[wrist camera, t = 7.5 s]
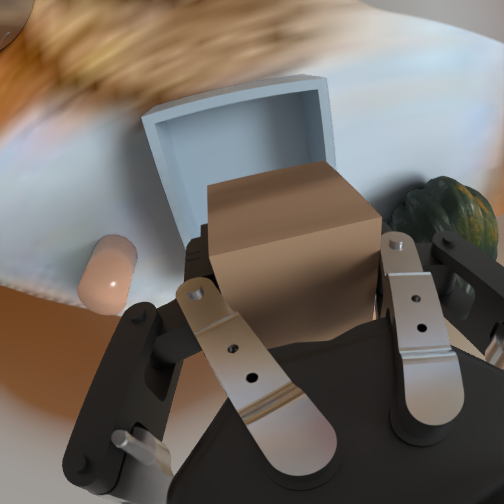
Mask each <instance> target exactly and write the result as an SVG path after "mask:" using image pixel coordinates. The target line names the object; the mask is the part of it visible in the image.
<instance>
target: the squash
mask: <svg viewBox="0 0 504 504" xmlns="http://www.w3.org/2000/svg"><path fill="white" fill-rule="evenodd" d="M405 203H406V205H403V206H400V207H398V208H397V209H396V210H395V211H394V212H393V214H392V221H391V222H390V223H389V224H387V225H388V226H389V227H390V228H391V229H392V230H393V232H402V233H405V234H407V235H409V236H410V237H411V238H412V239H413V241H414V243H432V240H433V236H434V234H435V233H437V232H440V231H450V232H454V233H456V234H458V235H459V236H461V237H462V238H464V239H465V240H467V241H468V242H470V243H471V244H473V245H474V246H476V247H477V248H478V249H480V250H481V251H483V252H484V253H485V254H487V255H488V256H490V257H491V258H492V259H494V260H495V261H496V258H497V244H498V226H497V220H496V217H495V215H494V212H493V210H492V208H491V205H490V204H489V202H488V201H487V199H486V198H485V197H484V196H483V195H481V194H480V193H479V192H478V191H476V190H474V189H472V188H470V187H468V186H464V185H462V184H461V183H459V182H457V181H456V180H454V179H452V178H449V177H446V176H440V177H437V178H434V179H431V180H430V181H428V182H427V183H426V184H425V186H424V187H423V189H422V190H421V189H413V190H411V191H409V192H408V193H407V194H406V198H405ZM455 284H456V285H457V286H458V287H460V288H461V289H462V290H463V291H464V292H466V293H467V294H468V295H469V296H470V297H472V298H473V299H475V291H474V289H473V287H472V286H471V285H470V284H468V283H467V282H466V281H465V280H463V279H462V278H461V277H460V276H458V275H457V278H456V282H455Z"/></svg>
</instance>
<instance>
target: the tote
mask: <svg viewBox="0 0 504 504" xmlns="http://www.w3.org/2000/svg"><path fill="white" fill-rule="evenodd" d="M141 118H142V122H143V125H144V129H145V132H146V135H147V138H148V142H149V145H150V148H151V151H152V154H153V157H154V161H155V164H156V167H157V170H158V173H159V176H160V179H161V182H162V185H163V188H164V191H165V194H166V197H167V200H168V202H169V205H170V208H171V211H172V214H173V217H174V220H175V222H176V225H177V228H178V231H179V233H180V236H181V239H182V242H183V244H184V247H185V250H186V246H187V245H188V243H189V242H190V240H191V239H193V238H197V237H200V233H201V225H202V224H206V223H208V211H207V185H211V184H215V183H219V182H223V181H228V180H232V179H236V178H240V177H245V176H249V175H254V174H258V173H263V172H268V171H272V170H277V169H282V168H287V167H292V166H297V165H302V164H308V163H313V162H319V161H324V160H325V161H326V162H327V163H328V164H329V165H330V166H332V167H333V168H334V169H335V170H336V158H335V146H334V135H333V125H332V116H331V108H330V99H329V91H328V84H327V78H324V77H318V76H312V75H305V74H302V75H294V76H287V77H280V78H273V79H267V80H261V81H255V82H250V83H244V84H239V85H234V86H230V87H225V88H220V89H216V90H212V91H207V92H203V93H199V94H195V95H192V96H188V97H184V98H180V99H177V100H173V101H170V102H166V103H163V104H160V105H157V106H154V107H153V108H151V109H150V110H149V111H148V112H146V113H145V114H144V115H143V116H142V117H141Z"/></svg>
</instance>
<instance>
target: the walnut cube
mask: <svg viewBox="0 0 504 504" xmlns="http://www.w3.org/2000/svg"><path fill="white" fill-rule="evenodd" d="M207 211H208V248H209V259H210V262H211V265H212V268H213V271H214V274H215V277H216V280H217V282H218V285H219V288H220V291H221V294H222V296H223V298H224V299H225V301H226V302H227V303H228V305H229V306H230V308H231V309H232V310H233V312H236V311H238V312H239V313H240V314H241V316H242V317H243V318H244V320H245V321H246V322H247V324H248V325H249V326H250V328H251V329H252V330H253V332H254V333H255V334H256V336H257V337H258V338H259V340H260V341H261V342H262V344H263V345H264V346H265V348H266V349H270V348H274V347H279V346H283V345H287V344H291V343H295V342H313V341H328V340H332V339H334V338H336V337H337V336H339V335H341V334H343V333H345V332H346V331H348V330H350V329H352V328H354V327H355V326H357V325H360V324H364V323H367V322H370V321H372V319H373V312H374V304H375V296H376V288H377V278H378V268H379V257H380V244H381V227H382V216H381V215H380V214H379V213H378V212H377V211H376V210H375V209H374V208H373V207H372V206H371V205H370V204H369V203H368V202H367V201H366V200H365V199H364V198H363V197H362V196H361V195H360V194H359V193H358V192H357V191H356V190H355V189H354V188H353V187H352V186H351V185H350V184H349V183H348V182H347V181H346V180H345V179H344V178H343V177H342V176H341V175H340V174H339V173H338V172H337V171H336V170H335V169H334V168H333V167H332V166H330V165H329V164H328V163H327V162H326V161H325V160H324V161H319V162H313V163H308V164H302V165H297V166H292V167H287V168H282V169H277V170H272V171H268V172H263V173H258V174H254V175H249V176H245V177H240V178H236V179H232V180H228V181H223V182H219V183H215V184H211V185H207Z"/></svg>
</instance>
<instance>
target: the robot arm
mask: <svg viewBox="0 0 504 504" xmlns="http://www.w3.org/2000/svg"><path fill="white" fill-rule="evenodd" d="M33 3H34V0H0V50H1V49H3V48H4V47H6V46H7V45H8V44H9V43H11V42H12V41H13V40H14V38H15V37H16V36H17V35H18V34H19V33H20V31H21V30H22V28H23V27H24V25H25V23H26V21H27V20H28V18H29V15H30V13H31V10H32V7H33ZM185 261H186V262H185V273H184V283H183V284H182V285H180V287H179V288H178V289H177V291H176V298H175V299H174V300H173V301H171V302H169V303H168V304H165V305H163V306H161V307H159V308H157V309H156V307H155V306H154V305H153V304H152V303H149V302H140V303H137V304H134V305H133V306H131V307H130V308H128V309H127V310H126V311H125V312H124V314H123V315H122V317H121V319H120V321H119V324H118V326H117V328H116V330H115V332H114V334H113V336H112V338H111V341H110V343H109V345H108V347H107V349H106V351H105V354H104V356H103V358H102V360H101V363H100V365H99V367H98V370H97V372H96V374H95V376H94V379H93V381H92V384H91V386H90V388H89V391H88V393H87V396H86V398H85V401H84V403H83V406H82V408H81V411H80V413H79V416H78V418H77V421H76V424H75V426H74V429H73V432H72V434H71V437H70V440H69V443H68V445H67V449H66V451H65V454H64V457H63V462H62V467H63V472H64V475H65V477H66V478H67V480H68V481H70V482H71V483H72V484H74V485H76V486H78V487H81V488H83V489H85V490H88V491H89V492H90V493H92V494H94V495H97V496H99V497H102V498H105V499H107V500H110V501H113V502H119V503H122V504H504V267H503V266H502V265H500V264H499V263H497V262H496V261H495V260H494V259H492V258H491V257H490V256H488V255H487V254H485V253H484V252H483V251H481V250H480V249H478V248H477V247H476V246H474V245H473V244H471V243H470V242H468V241H467V240H465V239H464V238H462V237H461V236H459V235H458V234H456V233H454V232H450V231H440V232H437V233H435V234H434V236H433V240H432V243H414V241H413V239H412V238H411V237H410V236H409V235H407V234H405V233H402V232H393V230H392V229H391V228H390V227H389V226H388V225H387V224H386V223H385V222H384V221H383V220H382V227H381V244H380V257H379V268H378V278H377V288H376V296H375V311H376V320H373V321H370V322H367V323H364V324H360V325H357V326H355V327H354V328H352V329H350V330H348V331H346V332H345V333H343V334H341V335H339V336H337V337H336V338H334V339H332V340H328V341H313V342H295V343H291V344H287V345H283V346H279V347H274V348H270V349H266V348H265V346H264V345H263V344H262V342H261V341H260V340H259V338H258V337H257V336H256V334H255V333H254V332H253V330H252V329H251V328H250V326H249V325H248V324H247V322H246V321H245V320H244V318H243V317H242V316H241V314H240V313H239V312H238V311H236V312H233V310H232V309H231V308H230V306H229V305H228V303H227V302H226V301H225V299H224V298H223V296H222V294H221V291H220V288H219V285H218V282H217V280H216V277H215V274H214V271H213V268H212V265H211V262H210V259H209V248H208V223H206V224H202V225H201V233H200V237H197V238H193V239H191V240H190V242H189V243H188V245H187V246H186V257H185ZM457 275H458V276H460V277H461V278H462V279H463V280H465V281H466V282H467V283H468V284H470V285H471V286H472V287H473V289H474V291H475V299H473V298H472V297H470V296H469V295H468V294H467V293H466V292H464V291H463V290H462V289H461V288H460V287H458V286H457V285H456V284H455V282H456V278H457ZM443 316H444V317H445V318H446V319H447V320H448V321H449V322H450V323H451V324H452V325H453V326H454V327H455V328H457V329H458V330H459V331H460V332H461V333H462V334H463V335H464V336H465V337H466V338H467V339H468V340H469V341H470V342H471V343H472V344H473V345H474V346H475V347H476V348H477V349H478V350H479V351H480V352H481V353H482V354H483V355H484V356H485V360H486V361H484V360H481V359H479V358H477V357H475V356H473V355H471V354H469V353H467V352H465V351H463V350H460V349H458V348H456V347H454V346H452V345H450V342H449V338H448V333H447V329H446V325H445V321H444V317H443ZM200 351H203V353H204V355H205V357H206V358H207V361H208V362H209V364H210V366H211V368H212V370H213V372H214V373H215V375H216V377H217V379H218V381H219V382H220V384H221V386H222V388H223V389H224V391H225V393H226V395H227V396H228V398H227V399H226V401H225V402H224V404H223V405H222V407H221V408H220V410H219V412H218V413H217V415H216V416H215V418H214V419H213V421H212V422H211V424H210V425H209V427H208V428H207V430H206V431H205V433H204V434H203V436H202V437H201V439H200V440H199V442H198V443H197V445H196V446H195V447H194V449H193V450H192V452H191V453H190V455H189V456H188V458H187V459H186V460H185V462H184V463H183V465H182V466H181V468H180V469H179V470H178V472H177V473H176V475H175V476H174V475H173V473H172V470H171V454H170V451H169V449H168V448H167V446H166V445H165V444H163V443H162V440H163V436H164V432H165V428H166V424H167V420H168V416H169V413H170V409H171V405H172V401H173V397H174V394H175V390H176V386H177V382H178V379H179V375H180V372H181V368H182V365H183V360H184V359H185V358H187V357H189V356H192V355H194V354H196V353H198V352H200Z"/></svg>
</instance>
